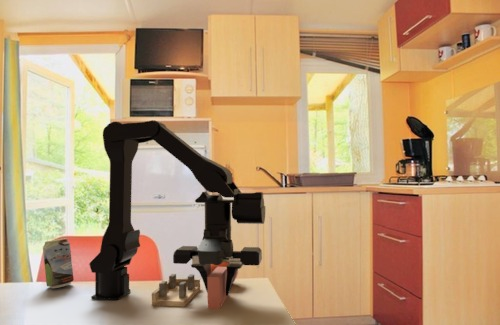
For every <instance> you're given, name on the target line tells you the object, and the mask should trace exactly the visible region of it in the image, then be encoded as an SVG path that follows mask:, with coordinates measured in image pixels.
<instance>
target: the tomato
mask: <svg viewBox="0 0 500 325" xmlns="http://www.w3.org/2000/svg"><path fill="white" fill-rule="evenodd" d="M229 263H230V262H229V260H223V262H222V263H221V264H220V265H214V264H211V273H212V272H213V271H214V270H215V269H216V268H217V267H227V266H228V264H229ZM238 274H239V269H237V271H236V273H235V276H234V279H233V282H232V285H233V284H234V283H235V281H236V279H237V277H238Z"/></svg>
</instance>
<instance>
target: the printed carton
mask: <svg viewBox="0 0 500 325" xmlns="http://www.w3.org/2000/svg"><path fill="white" fill-rule="evenodd" d="M42 253H43V265H44V270H45V271H44V272H45V281H46V287H49V288H50V289H57V288H62V287H66V286H68V285H69V286H70V285H71V284H72V283H73V282H74V271H73V270H74V269H73V262H72V254H71V253H72V251H71V244H70V241H69V240H68V239H67V237H64V238H58V239H57V238H56V239H53V240H52V239H51V240H47V241H45V242H44V245H43V246H42Z"/></svg>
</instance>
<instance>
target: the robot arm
mask: <svg viewBox="0 0 500 325" xmlns="http://www.w3.org/2000/svg"><path fill="white" fill-rule="evenodd" d="M102 140H103V147H104V151H105V153H106V155H107V157H108V159H109V165H110V166H109V201H108V202H109V203H108V204H109V205H108V207H109V209H108V210H109V212H108V214H109V215H108V225H107V227H106V229H105V231H104V234H103V235H102V238H101V239H102V240H101V243H100V244H101V245H100V252H99V253H98V254H97V255H96V256H95V257H94V258H93V259H92V260H91V261H90V262H89V264H88V265H89V267H90V270H91V273H94V275H95V280H94V281H95V286H94V288H95V293H94V294H93V295H92V296H90V297H91V298H90V299H92V300H111V301H115V300H116V301H117V300H120V299H122V298H123V297H124V296H126V295H127V294H129V293H130V292H131V289H130V274H129V273H128V267H127V266H129V265H131V261H132V259H133V258H134V256H135V255H136V254H137V252H138V249H139V248H140V247H141V244H140V234H141V231H140V229H135V228H134V226H133V223H132V183H133V182H132V179H133V178H132V176H133V171H132V170H133V161H134V159H135V157H136V155H137V152H138V150H139V146H140V144H142V143H143V144H144V143H148V142H151V141H154V142H156V143H157V144H158V145H159V146H161V147H162V149H164V150H166V151H167V152H168V153H169V154H170V155H172V156H173V157H174V158H176V159H177V160H178V161H179V162H180V163H182V164H183V165H184V166H186V168H188V169H189V171H190V172H191V173H192V175H193V176H194V177H195V179H196V180H197V181H198V183H199V184H200V185H201V186H202V187H203V188H204V190H206V191H202V192H201V194H200V195H199V196H198V197H197V198H196V199H195V200H194V202H195V203H196V204H197V203H198V204H201V203H203V204H204V229H203V236H202V239H201V242H200V243H199V245H198V246H197V245H195V246H194V245H182V246H181V247H178V248H177V249H176V250H175V251H174V252H173V255H172V259H173V262H172V264H176V265H178V264H181V265H183V264H185V265H186V264H188V263H189V262H190V261H191V260H192V264H190V266H191V268H194V269H196V270H197V271H198V273H199V274H200V275H199V276H200V277H201V279H202V281H203V282H202V283H203V284H204V286H205V290H206V293H207V294H208V286H207V277H208V276H209V275H210V274H211V264H214V265H220V264H221V263H222V262H223V260H229V262H230V263H229V264H228V266H227V280H226V296H227V297H228V296H229V294H230V291H231V287H232V285H233V284H232V282H233V279H234V276H235V273H236V271H237V269H238V270H240V269H241V268H242V267H243V266H259V265H260V264H261V262H262V259H263V252H262V249H261V248H260V247H259V246H258V247H257V246H256V247H255V246H254V247H253V246H252V247H251V246H244V247H243V248H242V249H241V250H234V243H233V240H232V219H233V220H234V221H236V222H237V224H243V225H244V224H249V225H250V224H252V225H254V224H257V225H259V224H260V225H261V224H262V225H263V224H265V220H266V206H265V199H264V193H263V191H255V192H241V189H239V187H238V186H237V184H236V183H235V182H234V177H233V173H232V171H231V170H230V169H229V168H227V167H225V166H223V165H222V164H220V163H218V162H216V161H214V160H212V159H209V158H207V157H206V156H204V155H202V154H201V153H199V152H198V151H197V150H196V149H194V148H193V147H192V146H191V145H189V144H188V143H187V142H186V141H185V140H183V139H182V138H181V137H179V135H177V134H175V132H173V131H172V130H170V129H169V128H168V127H167V126H166V125H165V123H162V122H160V121H157V120H147V121H140V122H127V123H123V122H119V121H112V122H110V123H108V124H107V125H106V126H105V127H104V128H103V130H102ZM208 192H209V193H218V194H209V193H208ZM224 198H225V199H224ZM226 198H233V199H226ZM233 283H234V282H233Z"/></svg>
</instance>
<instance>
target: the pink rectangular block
mask: <svg viewBox="0 0 500 325" xmlns="http://www.w3.org/2000/svg"><path fill="white" fill-rule="evenodd" d="M226 280H227V267H217V268H216V269H215V270H214V271H213V272H212V273H211V274H210V275H209V276H208V277H207V286H208V293H207V309H208V310H210V309H212V310H213V309H214V310H220V309H221V308H222V306H223V305H224V302H225V301H226V299H227V298H228V296H226Z"/></svg>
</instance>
